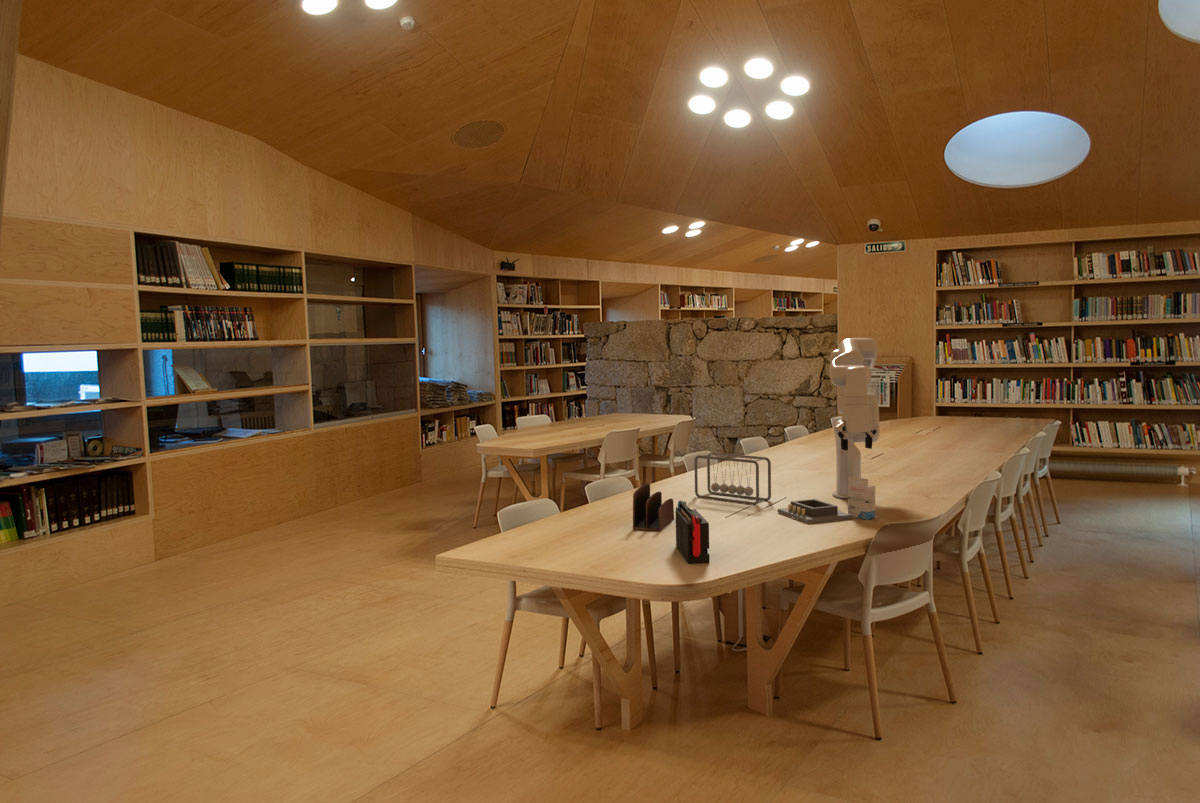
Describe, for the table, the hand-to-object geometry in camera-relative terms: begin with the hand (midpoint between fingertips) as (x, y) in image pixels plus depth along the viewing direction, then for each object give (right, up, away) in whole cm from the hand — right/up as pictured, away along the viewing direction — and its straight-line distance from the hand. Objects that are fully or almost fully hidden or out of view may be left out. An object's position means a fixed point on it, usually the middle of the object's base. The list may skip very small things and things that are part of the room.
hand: (856, 449), depth 290 cm
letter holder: (-73, -27, -1) cm, 78 cm away
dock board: (-14, -25, +6) cm, 29 cm away
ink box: (+2, -25, +2) cm, 25 cm away
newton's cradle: (-38, -23, +40) cm, 60 cm away
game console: (-64, -30, -42) cm, 82 cm away
